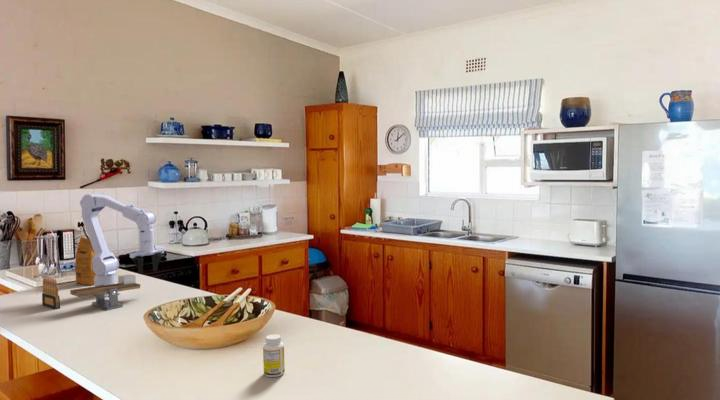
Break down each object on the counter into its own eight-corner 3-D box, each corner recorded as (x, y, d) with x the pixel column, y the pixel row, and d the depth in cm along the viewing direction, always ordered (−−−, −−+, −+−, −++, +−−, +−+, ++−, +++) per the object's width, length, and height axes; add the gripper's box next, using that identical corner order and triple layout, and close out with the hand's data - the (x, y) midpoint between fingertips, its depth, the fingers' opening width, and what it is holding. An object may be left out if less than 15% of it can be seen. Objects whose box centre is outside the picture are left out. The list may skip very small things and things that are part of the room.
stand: (91, 304, 210) (90, 286, 210) (106, 301, 215) (105, 283, 214) (107, 310, 202) (106, 291, 202) (122, 306, 207) (121, 288, 206)
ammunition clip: (42, 305, 210) (40, 276, 209) (47, 304, 212) (45, 275, 211) (55, 309, 204) (53, 279, 203) (60, 308, 206) (58, 278, 205)
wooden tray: (69, 296, 201) (69, 289, 201) (129, 287, 220) (129, 281, 220) (80, 299, 196) (80, 293, 196) (140, 290, 215) (140, 284, 215)
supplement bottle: (275, 368, 144) (274, 331, 143) (289, 373, 140) (288, 336, 140) (259, 374, 140) (258, 337, 139) (273, 380, 136) (272, 341, 135)
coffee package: (90, 279, 256) (88, 235, 255) (108, 281, 251) (106, 236, 250) (71, 284, 247) (69, 238, 246) (89, 286, 242) (87, 239, 241)
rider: (118, 285, 214) (118, 275, 214) (129, 283, 219) (129, 274, 219) (124, 286, 212) (124, 277, 212) (135, 285, 216) (135, 275, 216)
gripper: (135, 243, 213) (136, 276, 214) (167, 239, 224) (168, 270, 225) (126, 242, 217) (127, 274, 218) (158, 237, 229) (159, 268, 230)
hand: (148, 272), depth 222 cm, fingers open, 6 cm apart
